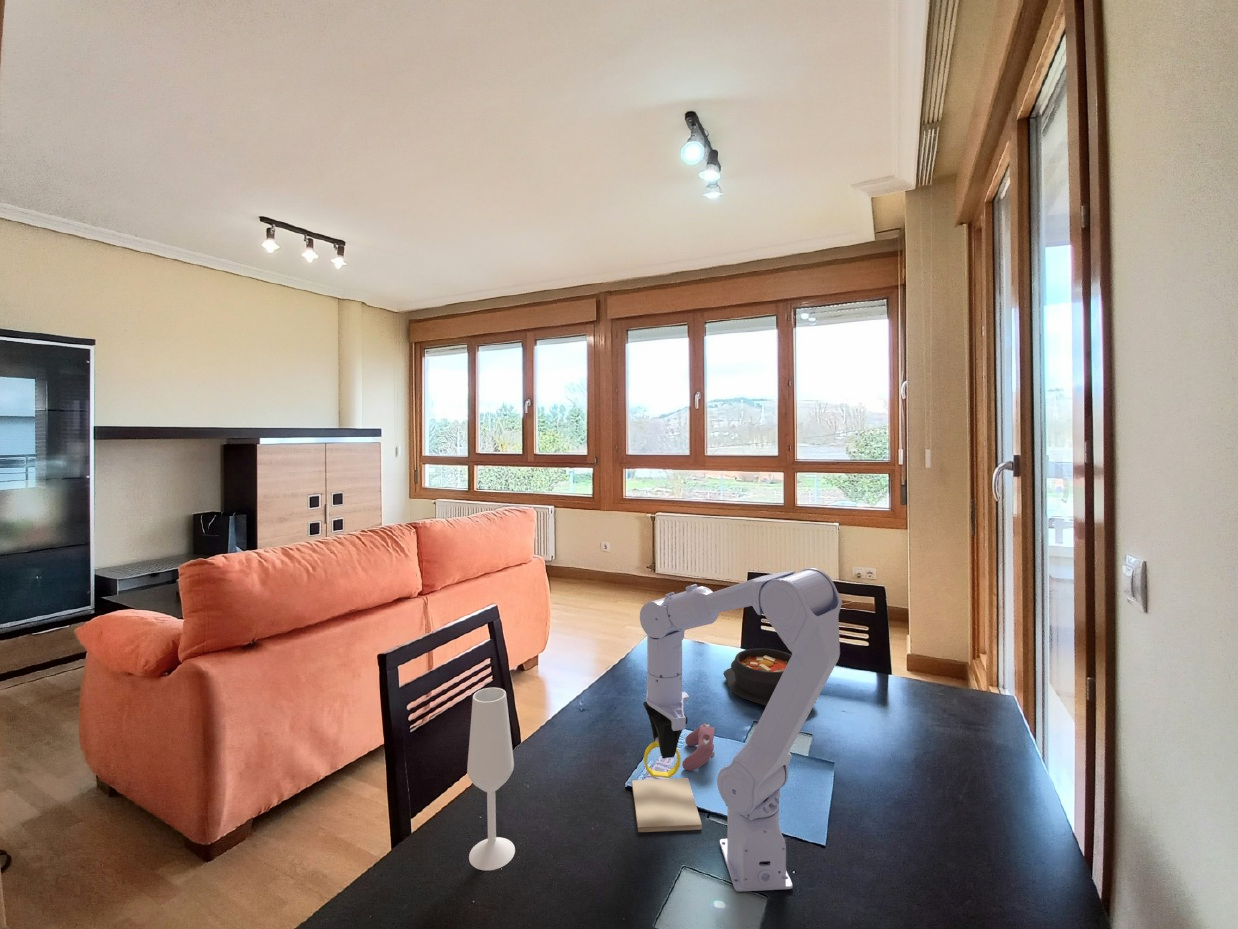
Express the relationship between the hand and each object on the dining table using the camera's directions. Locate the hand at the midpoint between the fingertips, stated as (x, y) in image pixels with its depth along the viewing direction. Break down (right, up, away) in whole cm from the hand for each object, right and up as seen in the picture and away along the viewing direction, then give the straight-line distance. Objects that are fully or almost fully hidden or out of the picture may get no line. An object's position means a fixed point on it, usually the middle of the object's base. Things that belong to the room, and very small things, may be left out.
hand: (664, 751), depth 93 cm
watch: (-1, -4, 0) cm, 4 cm away
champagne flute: (-26, -10, -10) cm, 30 cm away
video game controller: (+8, -9, +14) cm, 19 cm away
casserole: (+28, -8, +41) cm, 50 cm away
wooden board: (0, -9, +1) cm, 9 cm away
